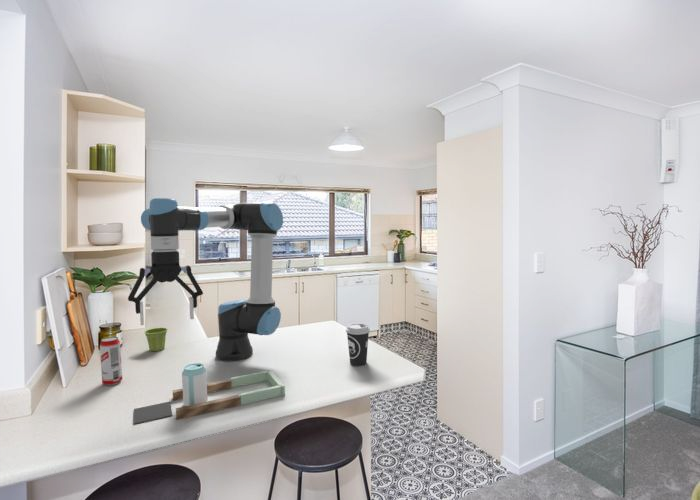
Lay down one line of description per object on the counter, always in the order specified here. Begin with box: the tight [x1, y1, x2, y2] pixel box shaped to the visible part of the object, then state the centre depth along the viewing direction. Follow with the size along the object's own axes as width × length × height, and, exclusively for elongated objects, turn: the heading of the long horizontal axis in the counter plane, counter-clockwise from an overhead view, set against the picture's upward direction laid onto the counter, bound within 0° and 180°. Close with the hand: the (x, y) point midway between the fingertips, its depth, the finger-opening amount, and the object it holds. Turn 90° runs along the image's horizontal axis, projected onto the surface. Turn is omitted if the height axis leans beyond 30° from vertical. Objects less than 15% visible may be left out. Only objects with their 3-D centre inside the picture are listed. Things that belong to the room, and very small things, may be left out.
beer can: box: [99, 336, 123, 387], centre depth 140 cm, size 6×6×16 cm
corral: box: [229, 369, 286, 406], centre depth 132 cm, size 14×16×3 cm
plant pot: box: [143, 327, 168, 352], centre depth 177 cm, size 9×9×9 cm
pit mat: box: [133, 401, 173, 425], centre depth 118 cm, size 10×10×1 cm
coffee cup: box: [345, 322, 371, 367], centre depth 156 cm, size 10×10×15 cm
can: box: [181, 362, 208, 407], centre depth 123 cm, size 7×7×12 cm
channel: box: [172, 378, 241, 420], centre depth 124 cm, size 18×16×2 cm
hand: (167, 321), depth 118 cm, fingers open, 13 cm apart
